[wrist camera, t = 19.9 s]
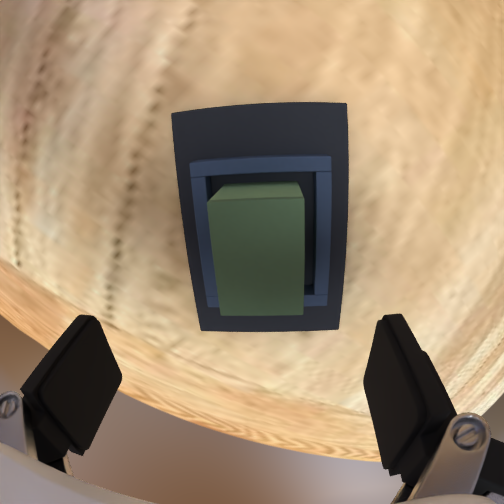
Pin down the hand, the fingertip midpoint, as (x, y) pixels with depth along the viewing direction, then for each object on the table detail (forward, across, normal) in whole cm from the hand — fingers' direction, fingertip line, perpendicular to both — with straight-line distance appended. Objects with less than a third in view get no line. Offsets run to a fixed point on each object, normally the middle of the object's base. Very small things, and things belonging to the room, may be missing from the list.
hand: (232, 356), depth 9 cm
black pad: (+14, -1, +1) cm, 14 cm away
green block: (+13, 0, 0) cm, 13 cm away
